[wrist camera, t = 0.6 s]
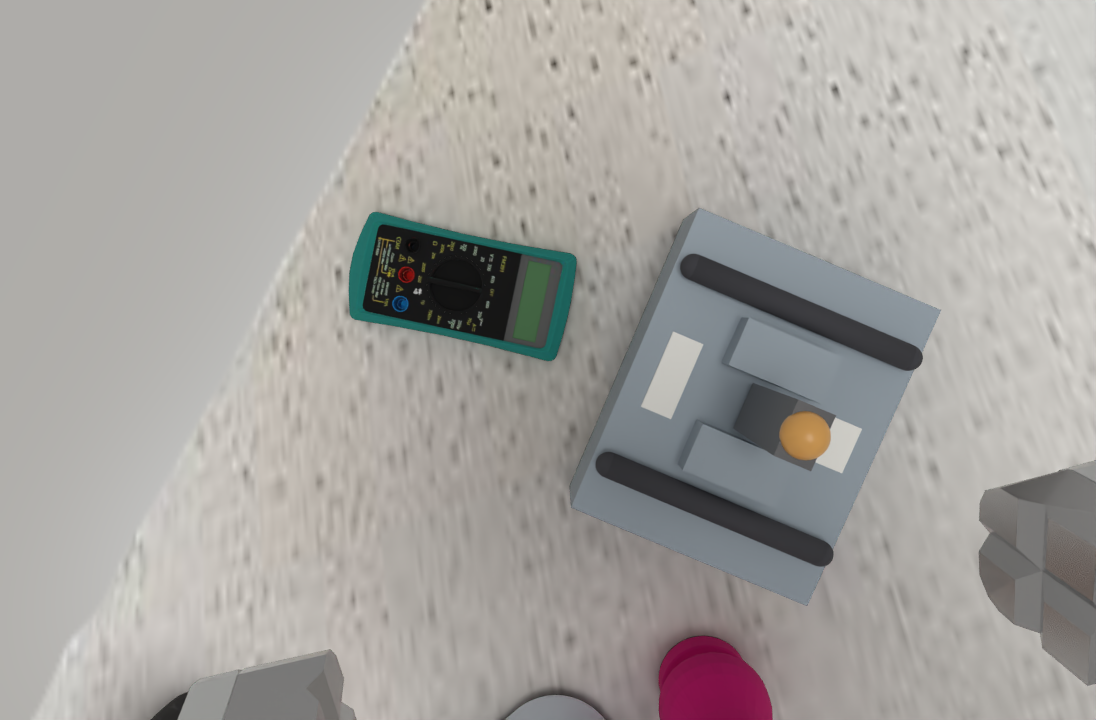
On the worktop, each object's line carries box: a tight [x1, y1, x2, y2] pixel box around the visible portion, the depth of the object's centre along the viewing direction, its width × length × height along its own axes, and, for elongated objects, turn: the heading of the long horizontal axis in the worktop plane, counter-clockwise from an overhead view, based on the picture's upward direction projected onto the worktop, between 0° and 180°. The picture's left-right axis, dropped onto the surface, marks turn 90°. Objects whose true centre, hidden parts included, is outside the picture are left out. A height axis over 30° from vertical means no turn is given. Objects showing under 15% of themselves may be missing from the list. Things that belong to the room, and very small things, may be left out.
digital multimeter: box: [349, 212, 577, 361], centre depth 53 cm, size 7×15×3 cm, turn 78°
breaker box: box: [570, 208, 941, 606], centre depth 50 cm, size 16×20×8 cm
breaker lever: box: [733, 383, 836, 471], centre depth 43 cm, size 2×3×11 cm
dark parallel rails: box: [595, 254, 923, 567], centre depth 48 cm, size 16×15×2 cm
